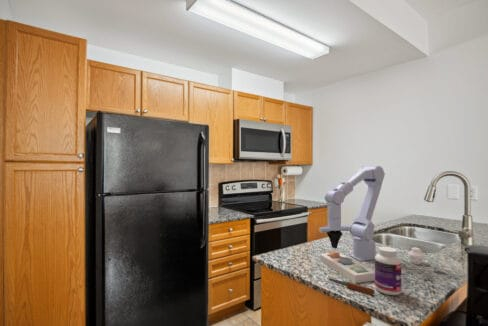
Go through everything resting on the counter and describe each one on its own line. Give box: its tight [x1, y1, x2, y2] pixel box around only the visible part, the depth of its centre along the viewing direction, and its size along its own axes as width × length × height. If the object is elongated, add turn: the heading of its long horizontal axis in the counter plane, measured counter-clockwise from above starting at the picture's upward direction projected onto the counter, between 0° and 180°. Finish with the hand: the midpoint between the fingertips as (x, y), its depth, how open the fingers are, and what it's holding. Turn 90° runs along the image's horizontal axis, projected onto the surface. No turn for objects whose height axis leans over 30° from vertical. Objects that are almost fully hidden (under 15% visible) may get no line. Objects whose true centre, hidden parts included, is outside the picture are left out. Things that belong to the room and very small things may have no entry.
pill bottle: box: [374, 246, 403, 296], centre depth 89 cm, size 8×8×14 cm
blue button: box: [340, 257, 353, 265], centre depth 108 cm, size 4×4×2 cm
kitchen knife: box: [328, 278, 375, 296], centre depth 91 cm, size 16×1×2 cm, turn 50°
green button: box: [353, 266, 365, 273], centre depth 100 cm, size 4×4×2 cm
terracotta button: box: [328, 251, 341, 259], centre depth 115 cm, size 4×4×2 cm
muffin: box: [407, 246, 426, 265], centre depth 115 cm, size 6×6×7 cm
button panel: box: [319, 252, 375, 284], centre depth 108 cm, size 10×24×3 cm, turn 15°
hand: (334, 247), depth 115 cm, fingers closed
